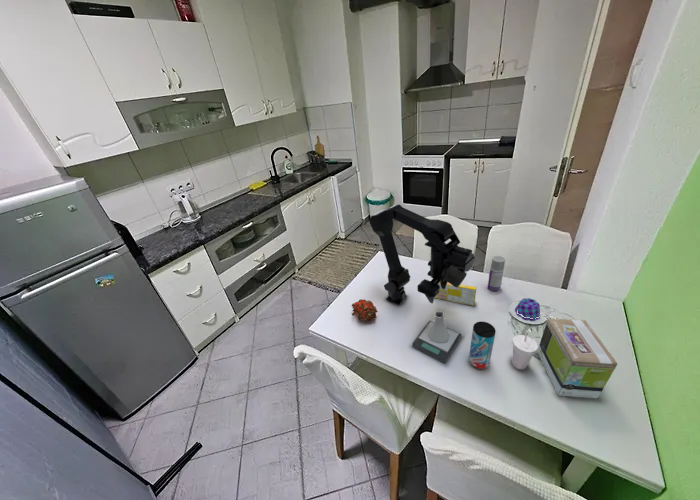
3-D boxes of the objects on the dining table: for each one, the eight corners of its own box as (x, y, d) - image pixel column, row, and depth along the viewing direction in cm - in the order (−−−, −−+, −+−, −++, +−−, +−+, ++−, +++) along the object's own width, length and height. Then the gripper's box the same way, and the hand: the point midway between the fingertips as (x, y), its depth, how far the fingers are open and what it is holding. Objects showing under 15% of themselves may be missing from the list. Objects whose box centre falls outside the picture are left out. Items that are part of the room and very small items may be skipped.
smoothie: (529, 357, 87) (538, 326, 80) (533, 375, 82) (544, 343, 75) (506, 353, 89) (513, 322, 82) (508, 370, 84) (517, 339, 77)
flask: (450, 344, 92) (452, 322, 87) (428, 342, 94) (428, 321, 88) (448, 327, 98) (449, 306, 93) (427, 326, 100) (427, 305, 94)
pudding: (526, 298, 108) (529, 288, 105) (555, 319, 98) (558, 308, 95) (501, 308, 106) (503, 297, 103) (527, 330, 96) (530, 319, 93)
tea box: (599, 399, 74) (620, 364, 66) (557, 396, 76) (572, 361, 68) (571, 352, 86) (586, 318, 79) (535, 350, 89) (546, 317, 81)
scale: (412, 347, 96) (412, 342, 95) (429, 323, 104) (429, 318, 103) (445, 364, 89) (446, 359, 87) (461, 337, 97) (462, 332, 95)
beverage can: (466, 354, 91) (470, 322, 83) (484, 353, 90) (490, 320, 82) (472, 370, 86) (477, 337, 78) (492, 369, 85) (499, 336, 77)
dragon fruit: (377, 327, 107) (355, 318, 116) (385, 307, 109) (363, 299, 118) (365, 322, 102) (343, 312, 110) (374, 300, 104) (351, 292, 112)
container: (488, 284, 118) (493, 254, 110) (501, 287, 115) (506, 257, 108) (486, 290, 115) (490, 260, 107) (498, 293, 112) (504, 263, 105)
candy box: (474, 303, 110) (476, 286, 106) (474, 306, 108) (476, 290, 104) (433, 294, 117) (433, 278, 113) (432, 297, 116) (432, 282, 111)
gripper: (450, 282, 80) (447, 321, 88) (475, 252, 91) (470, 289, 99) (416, 270, 87) (416, 307, 95) (443, 244, 98) (441, 279, 106)
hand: (437, 295), depth 99 cm, fingers open, 9 cm apart
